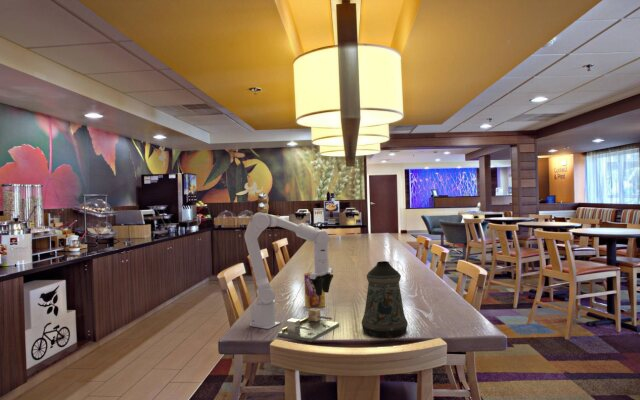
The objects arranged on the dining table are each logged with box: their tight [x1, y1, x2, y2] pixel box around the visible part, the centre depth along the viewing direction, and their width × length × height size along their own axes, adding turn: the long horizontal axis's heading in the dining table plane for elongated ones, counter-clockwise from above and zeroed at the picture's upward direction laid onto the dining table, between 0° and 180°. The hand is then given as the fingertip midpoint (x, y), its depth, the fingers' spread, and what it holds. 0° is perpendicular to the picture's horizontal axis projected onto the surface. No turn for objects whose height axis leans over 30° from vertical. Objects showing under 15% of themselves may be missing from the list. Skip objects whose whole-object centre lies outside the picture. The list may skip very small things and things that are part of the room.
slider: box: [307, 307, 333, 321], centre depth 165 cm, size 10×3×4 cm, turn 58°
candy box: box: [303, 271, 326, 309], centre depth 192 cm, size 9×4×15 cm, turn 96°
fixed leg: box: [286, 317, 312, 333], centre depth 153 cm, size 10×3×4 cm, turn 58°
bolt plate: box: [277, 316, 340, 343], centre depth 158 cm, size 14×20×2 cm
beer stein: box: [361, 260, 409, 340], centre depth 156 cm, size 16×19×25 cm
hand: (322, 293), depth 172 cm, fingers open, 5 cm apart
